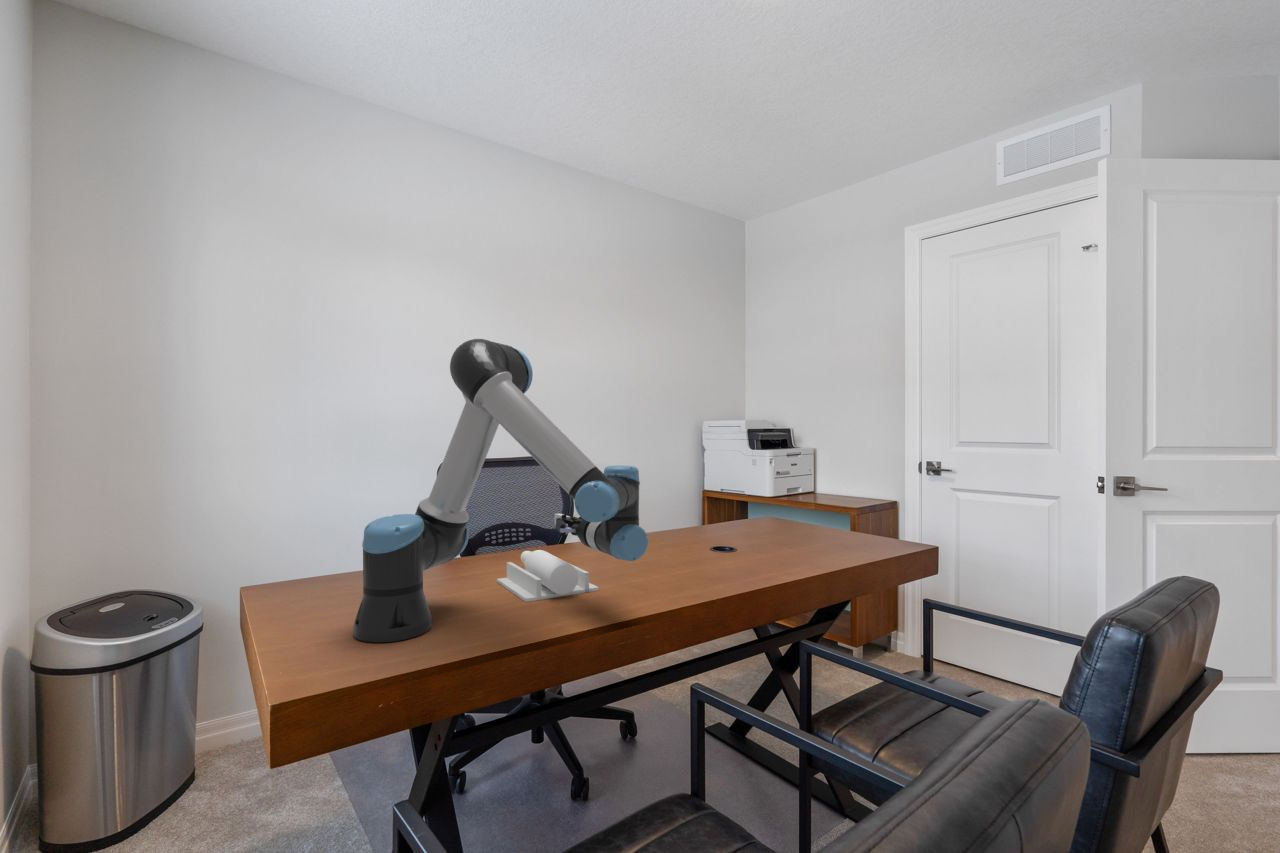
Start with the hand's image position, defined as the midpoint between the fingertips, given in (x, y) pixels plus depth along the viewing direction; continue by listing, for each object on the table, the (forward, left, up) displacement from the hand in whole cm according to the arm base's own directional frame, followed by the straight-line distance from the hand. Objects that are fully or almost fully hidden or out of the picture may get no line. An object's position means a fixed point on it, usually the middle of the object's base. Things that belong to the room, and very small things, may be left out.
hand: (557, 518), depth 154 cm
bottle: (+4, -5, -14) cm, 16 cm away
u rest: (-5, +5, -19) cm, 20 cm away
